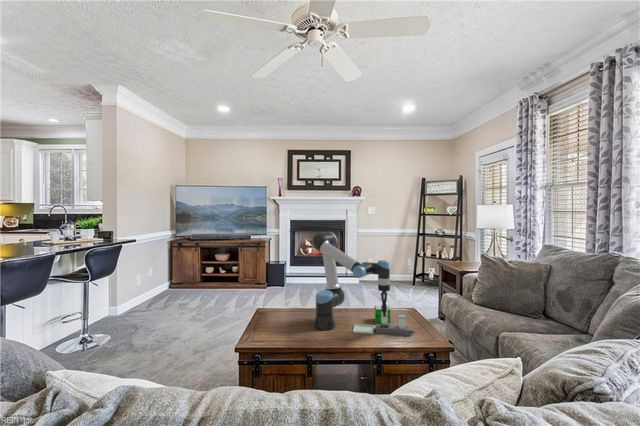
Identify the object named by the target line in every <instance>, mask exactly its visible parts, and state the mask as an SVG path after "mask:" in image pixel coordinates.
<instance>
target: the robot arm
mask: <svg viewBox="0 0 640 426" xmlns="http://www.w3.org/2000/svg"><path fill="white" fill-rule="evenodd" d="M311 244H312V247H313V248H314V249H315V250H317V251H318V252H320V253H321V254H322V259H323V267H324V274H325V279H326V287H325V288H324V289H323V290H320V291H318V292H317V293H316V295H315V317H314V321H313V328H314V329H315V330H319V331H331V330H333V329H335V328H336V321H335V317H334V311H333V309H334V308H336V307H338V306H340V305H342V304H343V303H344V302H345V301H346V300H345V299H346V293H345V290H343V289H342V286H341V285H340V283H339V278H338V277H339V276H338V271H337V264H336V262H337V263H338V264H339V265H341V266H343V267H344V268H345V269H347V270H349V271H350V272H351V273H352V274H353V276H354V277H355V278H356V279H361V278H364V277H366V276H369V275H377V284H378V285H377V290H378V291H380V292H381V293H380V299H381V302H382V303H381V305H382V310H381V311H382V321H385V322H387V315H386V305H387V300H388V299H387V298H388V293H387V292H390V291H391V285H390V284H391V281H392V280H391V279H390V278H391V276H390V275H391V274H390V273H391V270H390V269H391V266H390V261H389V260H384V259H380V260H378V261H377V262H370V261H366V262H365V261H362V262H359V261H358V260H356V259H354V258H353V257H351V256H350V255H348V254H346V253H345V252H343V251H342V250H341V249H339V248H337V247H336V245H337V244H338V238H337V236H336V234H335V233H334V232H332V231H324V232H322V231H321V232H317V233H315V234H314V235H313V236H312V238H311Z"/></svg>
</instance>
